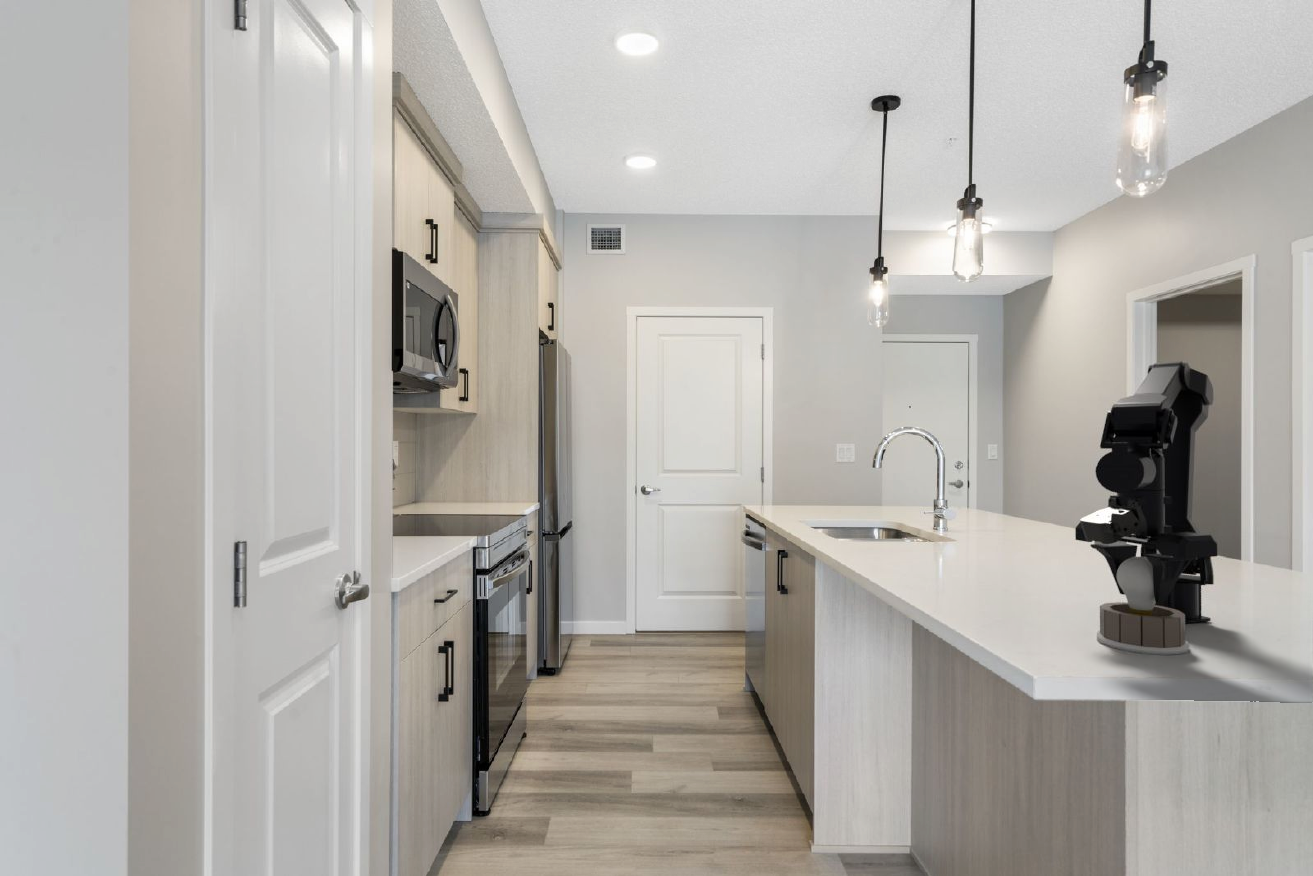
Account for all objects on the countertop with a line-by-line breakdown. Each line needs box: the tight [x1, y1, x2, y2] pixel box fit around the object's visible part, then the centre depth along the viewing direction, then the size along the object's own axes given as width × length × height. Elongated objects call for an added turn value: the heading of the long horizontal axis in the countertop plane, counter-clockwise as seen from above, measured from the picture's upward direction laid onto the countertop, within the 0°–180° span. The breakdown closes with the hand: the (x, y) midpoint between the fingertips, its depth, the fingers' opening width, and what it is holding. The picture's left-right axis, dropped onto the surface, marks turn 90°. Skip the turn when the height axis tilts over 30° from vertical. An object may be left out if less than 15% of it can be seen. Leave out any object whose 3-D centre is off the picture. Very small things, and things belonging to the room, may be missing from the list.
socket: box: [1096, 601, 1190, 656], centre depth 106 cm, size 11×11×5 cm
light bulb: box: [1117, 556, 1156, 616], centre depth 106 cm, size 6×6×10 cm
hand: (1141, 598), depth 106 cm, fingers closed on light bulb, 6 cm apart
